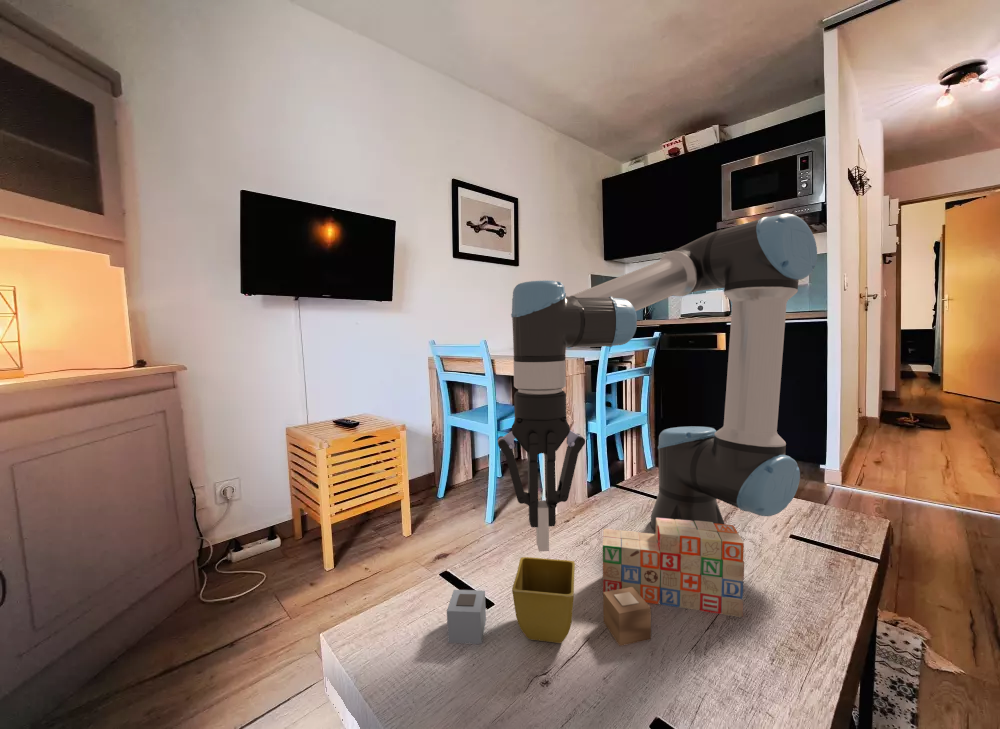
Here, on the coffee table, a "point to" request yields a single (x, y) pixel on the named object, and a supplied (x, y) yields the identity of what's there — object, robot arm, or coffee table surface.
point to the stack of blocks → (678, 565)
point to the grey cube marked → (466, 616)
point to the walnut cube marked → (627, 616)
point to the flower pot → (544, 598)
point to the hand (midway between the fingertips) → (542, 546)
